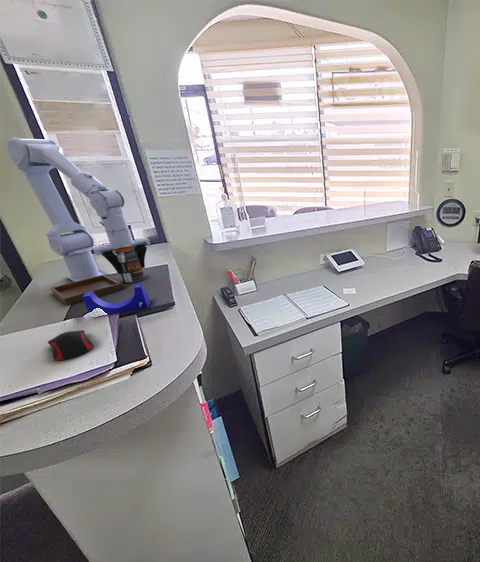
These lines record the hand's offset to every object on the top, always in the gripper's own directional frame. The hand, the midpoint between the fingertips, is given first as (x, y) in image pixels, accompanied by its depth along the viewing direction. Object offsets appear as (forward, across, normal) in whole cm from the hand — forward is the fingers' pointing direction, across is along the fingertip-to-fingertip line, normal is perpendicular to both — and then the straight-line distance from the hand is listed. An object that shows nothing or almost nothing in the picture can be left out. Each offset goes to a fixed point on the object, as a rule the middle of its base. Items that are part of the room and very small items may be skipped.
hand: (131, 270), depth 102 cm
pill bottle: (+4, 0, 0) cm, 4 cm away
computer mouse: (+4, -24, -37) cm, 44 cm away
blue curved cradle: (+4, -11, -24) cm, 27 cm away
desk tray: (+3, -12, +1) cm, 13 cm away
